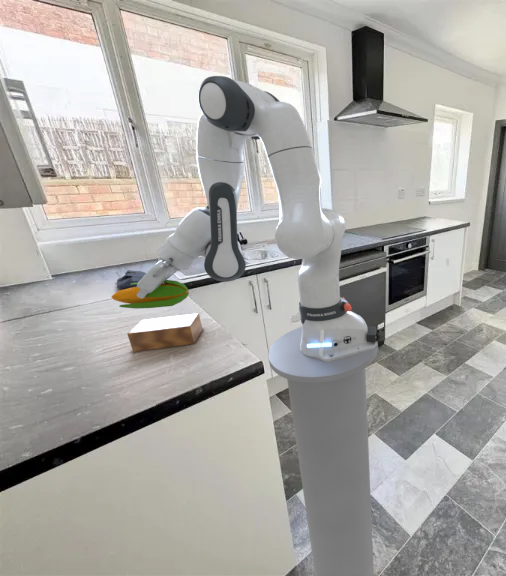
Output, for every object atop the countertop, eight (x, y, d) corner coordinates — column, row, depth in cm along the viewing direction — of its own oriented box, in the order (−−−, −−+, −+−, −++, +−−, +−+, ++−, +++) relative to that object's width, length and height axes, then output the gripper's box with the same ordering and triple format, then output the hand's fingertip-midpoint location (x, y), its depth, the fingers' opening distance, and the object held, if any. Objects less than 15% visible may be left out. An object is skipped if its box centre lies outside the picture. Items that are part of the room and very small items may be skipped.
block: (202, 329, 103) (198, 312, 101) (194, 343, 94) (189, 325, 92) (147, 336, 99) (142, 319, 97) (133, 352, 90) (127, 333, 88)
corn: (178, 281, 85) (96, 286, 82) (184, 307, 87) (104, 313, 84) (190, 275, 92) (115, 280, 89) (195, 300, 94) (122, 305, 91)
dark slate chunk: (112, 292, 139) (109, 282, 138) (118, 280, 157) (116, 271, 155) (153, 285, 147) (151, 276, 146) (155, 275, 165) (153, 266, 163)
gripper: (176, 271, 79) (142, 312, 79) (196, 254, 97) (169, 287, 98) (151, 256, 76) (116, 298, 77) (177, 241, 94) (149, 275, 95)
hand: (146, 291), depth 87 cm, fingers closed on corn, 6 cm apart
